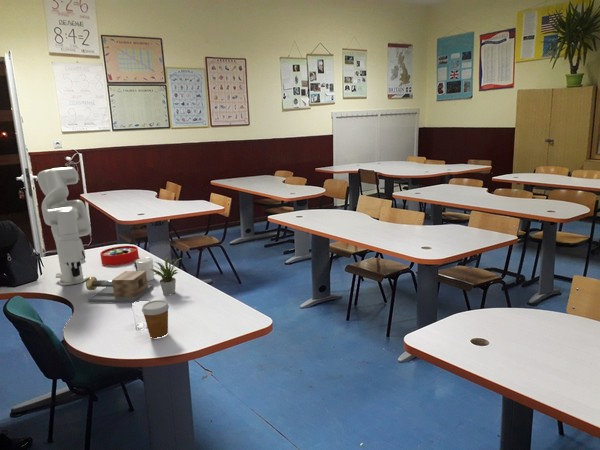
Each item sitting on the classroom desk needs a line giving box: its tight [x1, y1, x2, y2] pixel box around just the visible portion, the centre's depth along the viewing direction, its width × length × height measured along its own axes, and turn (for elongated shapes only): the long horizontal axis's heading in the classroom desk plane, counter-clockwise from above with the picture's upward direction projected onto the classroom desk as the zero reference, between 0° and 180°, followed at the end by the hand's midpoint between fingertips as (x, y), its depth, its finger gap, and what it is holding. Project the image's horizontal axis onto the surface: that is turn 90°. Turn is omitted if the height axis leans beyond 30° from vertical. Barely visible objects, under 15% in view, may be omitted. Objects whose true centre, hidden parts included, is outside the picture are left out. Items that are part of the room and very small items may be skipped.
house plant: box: [150, 257, 182, 296], centre depth 220 cm, size 14×14×16 cm
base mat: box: [87, 284, 154, 304], centre depth 222 cm, size 22×18×2 cm
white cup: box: [136, 257, 155, 282], centre depth 241 cm, size 8×8×10 cm
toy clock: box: [100, 245, 140, 267], centre depth 277 cm, size 20×6×20 cm
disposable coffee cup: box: [141, 299, 170, 339], centre depth 177 cm, size 10×10×12 cm
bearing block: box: [111, 270, 149, 297], centre depth 220 cm, size 10×12×8 cm
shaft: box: [85, 276, 113, 291], centre depth 222 cm, size 18×6×6 cm, turn 81°
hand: (76, 275), depth 223 cm, fingers closed
